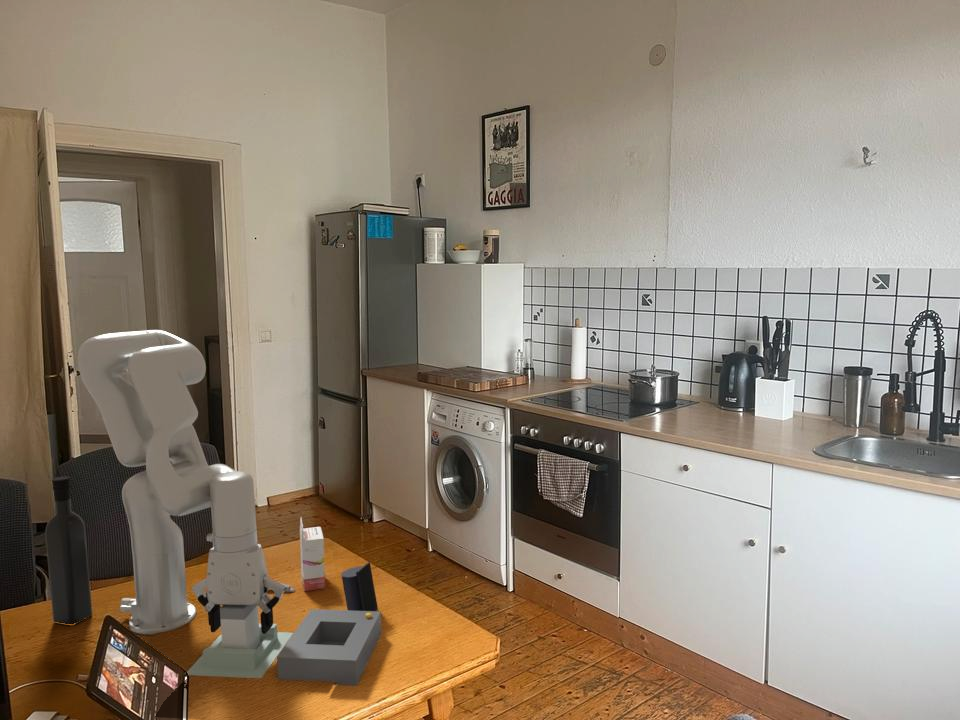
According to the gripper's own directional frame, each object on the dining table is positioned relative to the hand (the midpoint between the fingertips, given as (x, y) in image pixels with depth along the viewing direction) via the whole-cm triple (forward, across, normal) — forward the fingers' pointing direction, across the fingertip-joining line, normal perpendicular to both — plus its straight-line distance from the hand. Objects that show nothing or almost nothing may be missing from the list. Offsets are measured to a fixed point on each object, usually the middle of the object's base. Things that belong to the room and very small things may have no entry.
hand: (241, 629), depth 136 cm
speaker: (+6, +17, +19) cm, 26 cm away
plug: (+5, 0, 0) cm, 5 cm away
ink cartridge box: (+5, +3, +32) cm, 33 cm away
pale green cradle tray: (+5, 0, 0) cm, 5 cm away
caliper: (+5, -10, +28) cm, 31 cm away
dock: (+5, +17, +1) cm, 18 cm away
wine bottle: (+5, -41, +11) cm, 43 cm away
